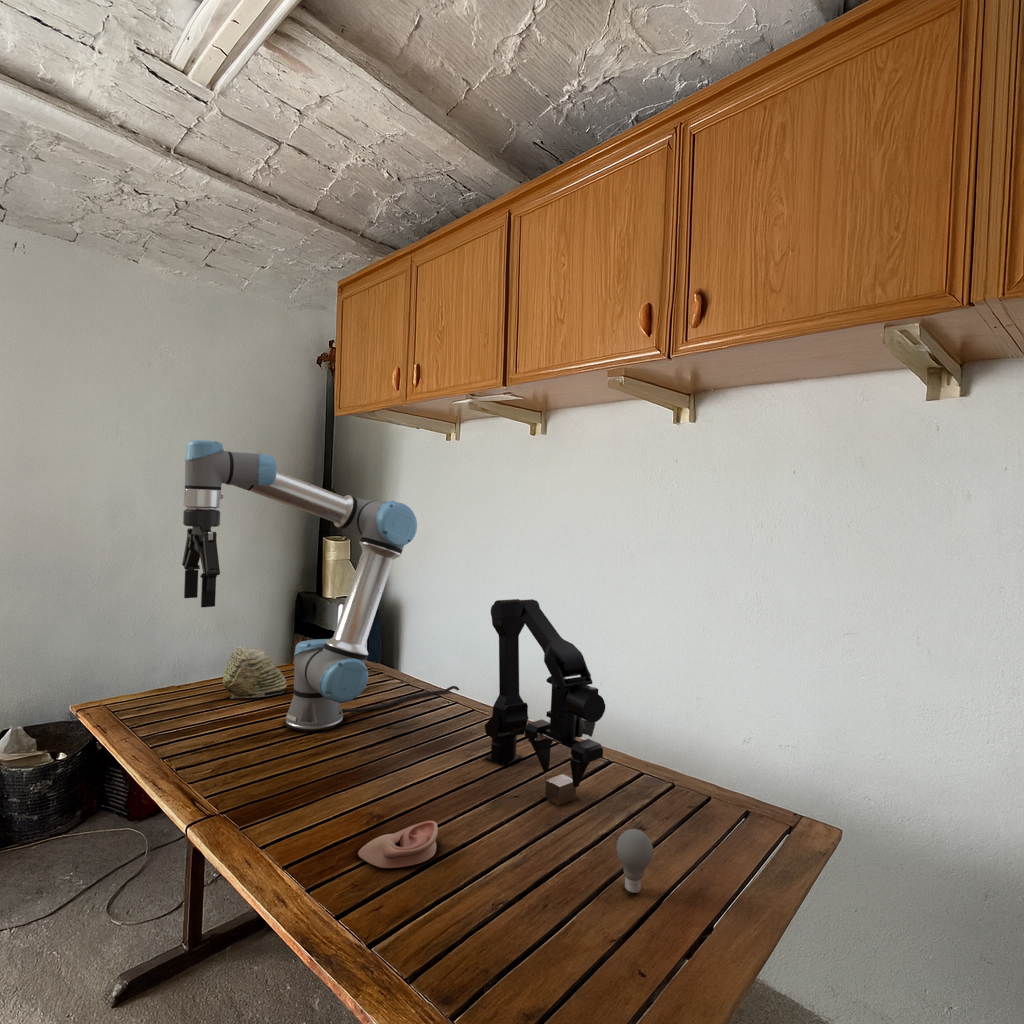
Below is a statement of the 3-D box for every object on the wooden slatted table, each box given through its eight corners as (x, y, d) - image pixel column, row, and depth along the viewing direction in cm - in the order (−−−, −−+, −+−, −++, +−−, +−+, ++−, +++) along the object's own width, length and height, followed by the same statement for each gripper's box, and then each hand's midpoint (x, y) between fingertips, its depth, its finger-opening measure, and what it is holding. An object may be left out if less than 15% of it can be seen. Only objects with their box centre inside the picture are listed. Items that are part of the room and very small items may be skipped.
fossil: (218, 695, 195) (220, 647, 195) (278, 685, 208) (279, 640, 207) (228, 703, 189) (230, 653, 188) (289, 692, 201) (290, 645, 201)
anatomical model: (350, 840, 110) (378, 809, 121) (349, 863, 110) (377, 829, 121) (423, 852, 107) (444, 819, 118) (422, 875, 107) (443, 840, 118)
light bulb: (610, 879, 108) (613, 822, 108) (644, 879, 109) (647, 822, 109) (619, 902, 102) (622, 840, 102) (655, 901, 103) (658, 840, 103)
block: (558, 806, 134) (559, 786, 134) (545, 798, 137) (545, 779, 137) (575, 799, 138) (576, 780, 138) (561, 792, 141) (562, 773, 141)
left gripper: (237, 511, 137) (234, 609, 137) (203, 507, 155) (200, 593, 156) (200, 510, 132) (196, 612, 132) (170, 506, 150) (167, 595, 151)
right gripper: (621, 712, 136) (618, 785, 136) (559, 690, 150) (556, 756, 150) (586, 723, 128) (583, 799, 128) (524, 698, 142) (521, 767, 142)
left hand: (199, 602), depth 144 cm, fingers open, 13 cm apart
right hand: (560, 779), depth 137 cm, fingers open, 9 cm apart
